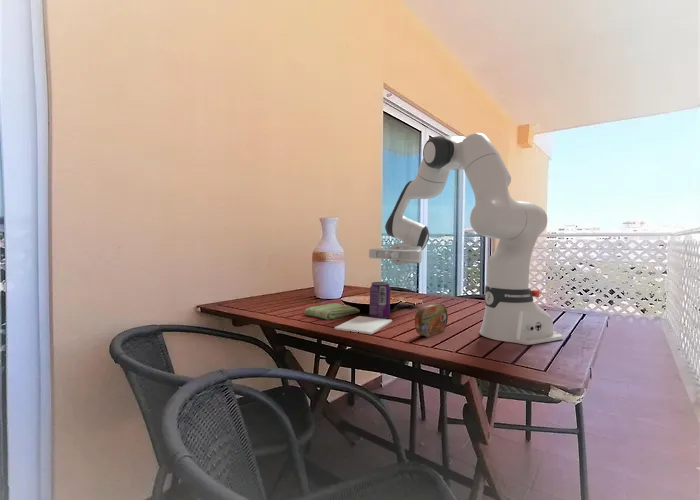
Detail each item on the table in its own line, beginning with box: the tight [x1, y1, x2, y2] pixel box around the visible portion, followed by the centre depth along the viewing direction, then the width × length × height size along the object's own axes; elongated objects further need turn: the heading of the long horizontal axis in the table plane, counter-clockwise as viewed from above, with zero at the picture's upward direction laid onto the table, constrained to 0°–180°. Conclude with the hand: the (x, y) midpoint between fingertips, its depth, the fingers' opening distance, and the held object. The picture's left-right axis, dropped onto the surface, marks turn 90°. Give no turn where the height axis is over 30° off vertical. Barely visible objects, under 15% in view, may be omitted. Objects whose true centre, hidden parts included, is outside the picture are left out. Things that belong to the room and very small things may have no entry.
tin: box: [414, 303, 449, 338], centre depth 110 cm, size 15×3×8 cm, turn 137°
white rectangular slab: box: [334, 315, 393, 335], centre depth 118 cm, size 18×12×1 cm, turn 155°
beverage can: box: [368, 281, 391, 319], centre depth 130 cm, size 7×7×12 cm
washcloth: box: [303, 302, 361, 321], centre depth 135 cm, size 13×18×3 cm
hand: (388, 255), depth 137 cm, fingers closed
